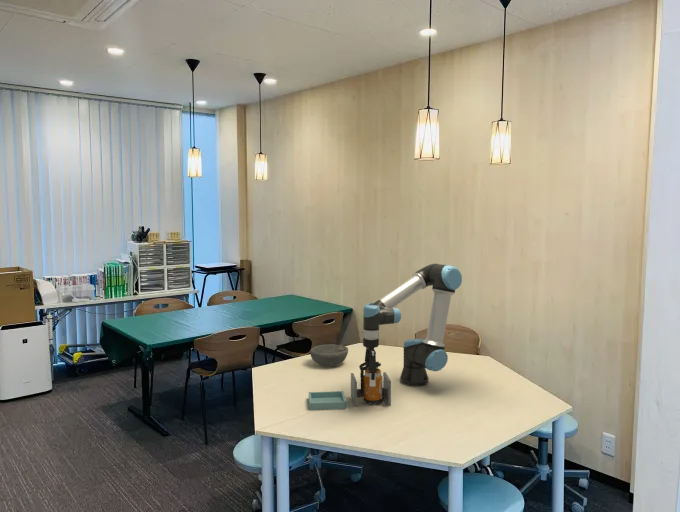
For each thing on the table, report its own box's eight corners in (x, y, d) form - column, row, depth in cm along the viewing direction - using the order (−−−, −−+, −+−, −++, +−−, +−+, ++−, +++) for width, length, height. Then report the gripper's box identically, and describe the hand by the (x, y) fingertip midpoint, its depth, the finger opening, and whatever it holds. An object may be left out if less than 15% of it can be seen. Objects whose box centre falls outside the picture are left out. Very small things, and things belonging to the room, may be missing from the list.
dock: (385, 395, 264) (385, 372, 263) (390, 405, 250) (391, 380, 249) (350, 396, 262) (350, 373, 261) (354, 407, 249) (354, 382, 247)
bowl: (314, 358, 329) (314, 342, 328) (350, 359, 326) (350, 343, 325) (306, 369, 307) (306, 352, 306) (345, 371, 303) (345, 354, 303)
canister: (380, 406, 250) (381, 364, 248) (357, 404, 252) (357, 363, 250) (383, 399, 259) (383, 359, 257) (360, 397, 261) (360, 358, 259)
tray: (343, 397, 262) (343, 391, 261) (346, 408, 247) (346, 402, 246) (308, 398, 260) (308, 392, 260) (310, 409, 245) (309, 403, 245)
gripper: (359, 332, 265) (358, 373, 266) (367, 344, 240) (366, 390, 242) (374, 332, 265) (373, 373, 267) (383, 344, 241) (382, 390, 242)
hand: (370, 381), depth 254 cm, fingers open, 13 cm apart
